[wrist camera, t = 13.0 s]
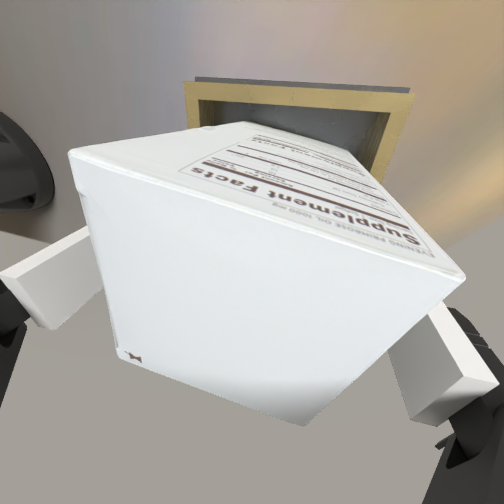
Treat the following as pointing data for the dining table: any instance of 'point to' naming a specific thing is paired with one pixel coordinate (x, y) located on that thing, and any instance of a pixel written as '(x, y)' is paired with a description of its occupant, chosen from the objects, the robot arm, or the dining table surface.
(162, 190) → the supplement box
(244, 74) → the dining table surface
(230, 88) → the gray square bin
